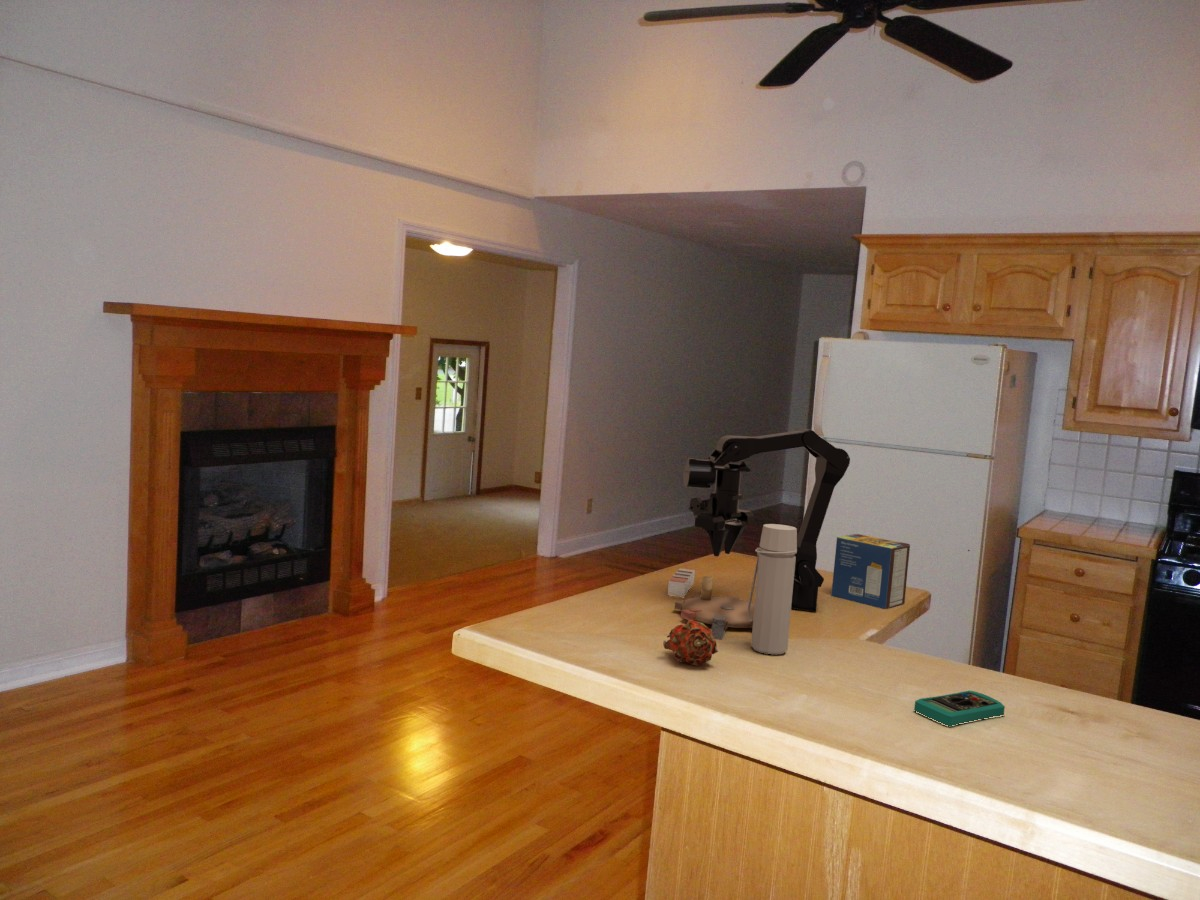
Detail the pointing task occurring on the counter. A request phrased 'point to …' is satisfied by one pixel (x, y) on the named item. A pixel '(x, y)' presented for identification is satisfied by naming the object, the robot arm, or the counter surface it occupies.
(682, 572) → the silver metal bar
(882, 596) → the protein box
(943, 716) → the digital multimeter
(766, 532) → the water bottle
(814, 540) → the robot arm
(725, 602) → the flat round disc
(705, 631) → the dragon fruit
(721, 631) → the pointer
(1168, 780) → the counter surface
